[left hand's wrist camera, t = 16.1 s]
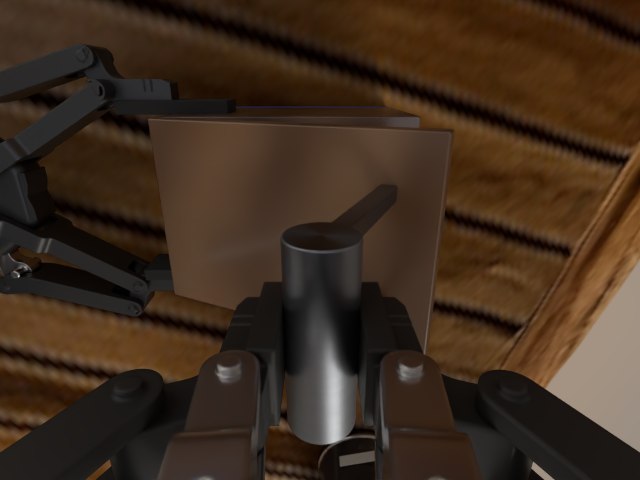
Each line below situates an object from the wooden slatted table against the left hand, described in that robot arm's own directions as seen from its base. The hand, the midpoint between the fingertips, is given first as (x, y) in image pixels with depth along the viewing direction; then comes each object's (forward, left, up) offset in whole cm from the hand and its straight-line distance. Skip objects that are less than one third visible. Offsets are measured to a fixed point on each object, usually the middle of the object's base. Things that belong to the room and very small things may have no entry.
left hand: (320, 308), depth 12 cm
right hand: (-2, +5, -15) cm, 16 cm away
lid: (-1, +1, -8) cm, 8 cm away
